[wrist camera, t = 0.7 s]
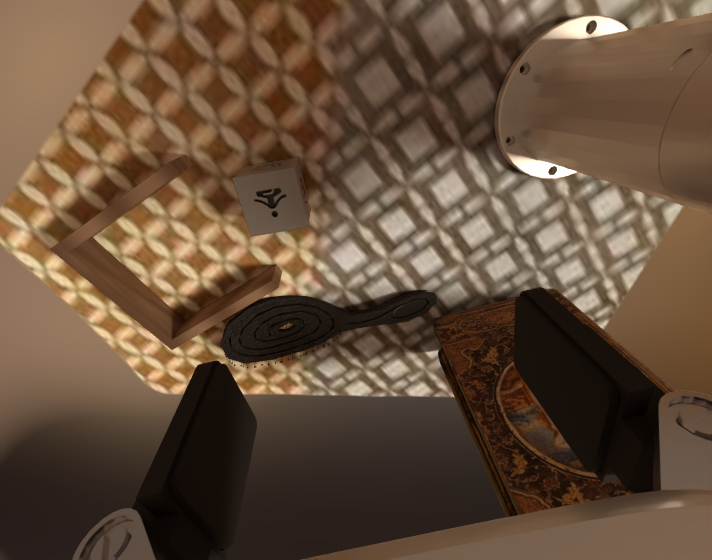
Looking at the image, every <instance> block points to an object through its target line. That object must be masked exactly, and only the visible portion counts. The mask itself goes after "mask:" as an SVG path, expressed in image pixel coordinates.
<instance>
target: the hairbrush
mask: <svg viewBox="0 0 712 560" xmlns="http://www.w3.org/2000/svg"><path fill="white" fill-rule="evenodd" d="M423 291H426V290H418V291H415V292H411V293H408V294H405V295H402V296H400V297H397V298H395V299H393V300H391V301H389V302H387V303H384V304H382V305H380V306H377V307H372V308H368V309H364V310H360V311H356V312H349V311H346V310H344V309H341V308H338V307H336V306H333V305H331V304H329V303H327V302H325V301H323V302H322V300H321V301H319V300H320V299H319V300H316V299H318V298H315V299H314V298H311V297H307V296H289V295H288V296H278V297H273V298H272V297H270V298H266V299H263V300H260V301H258V302H255V303H252V304H250V305H249V306H248V307H246V308H245V309H244V310H243V311H241V312H240V313H239V314H237V315H236V316H235V317H234V318H232V319H231V320H230V321H229V322H228V324H227V326H226V328H225V330H224V334H223V338H222V342H221V347H222V349H223V350H224V352H225V356H226V357H228V359H232V360H235V361H239V362H241V363H243V364H244V363H252V362H259V361H266V360H273V359H275V364H276V359H277V358H280V357H283V356H287V355H290V354H294V353H297V352H300V353H301V351H303V352H304V350H306V355H307V349H309V348H311V347H314V346H316V345H317V346H318V344H321V343H323V342H325V341H327V340H329V339H330V338H332V337H333V336H335V335H337V334H338V333H340V332H343V331H347V330H352V329H356V328H363V327H369V326H376V325H383V324H391V323H399V322H407V321H409V320H411V319H414V318H416V317H418V316H421V315H423V314H425V313H426V312H428V311H429V310H430V309H431V308H432V307H433V306H434V305H435V304H436V295H435V294H434V293H430V292H423ZM424 298H427V301H426V300H425V299H424ZM319 318H320V320H321V324H320V321H319ZM332 318H333V319H334V321H333V319H332ZM288 323H292V324H296V325H295V326H292V327H290V328H288V329H287V324H288ZM304 323H305V326H304V327H303V325H304ZM271 325H272V326H271ZM284 325H286V329H280V330H278V329H279V328H281V327H283V326H284ZM242 329H243V330H242ZM241 330H242V332H241ZM255 330H256V335H255V334H254V332H255ZM240 332H241V337H240V338H239V336H240ZM340 335H341V333H340ZM337 336H338V335H337ZM337 338H338V337H337ZM333 342H334V340H333ZM231 343H232V344H231ZM328 345H329V344H328ZM324 347H325V346H323V348H324ZM312 352H313V350H312ZM314 352H315V350H314ZM303 355H304V354H303ZM294 356H295V354H294ZM300 357H301V355H300ZM294 359H295V358H294ZM292 360H293V355H292ZM288 361H289V359H288ZM229 362H230V361H229ZM282 362H283V361H282ZM232 364H233V362H232ZM262 365H263V364H262ZM268 365H269V364H268ZM234 366H235V364H234ZM241 366H242V365H241ZM243 367H244V366H243ZM247 368H248V367H247ZM254 368H255V366H254Z"/></svg>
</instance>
